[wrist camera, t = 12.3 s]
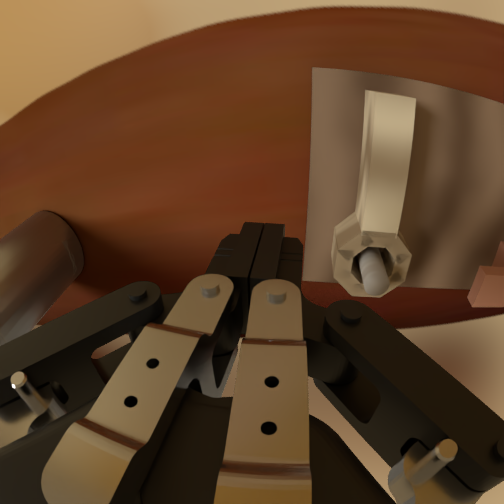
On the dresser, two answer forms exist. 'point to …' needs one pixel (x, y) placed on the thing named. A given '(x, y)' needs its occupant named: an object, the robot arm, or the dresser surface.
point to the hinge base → (409, 180)
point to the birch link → (378, 193)
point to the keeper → (489, 283)
